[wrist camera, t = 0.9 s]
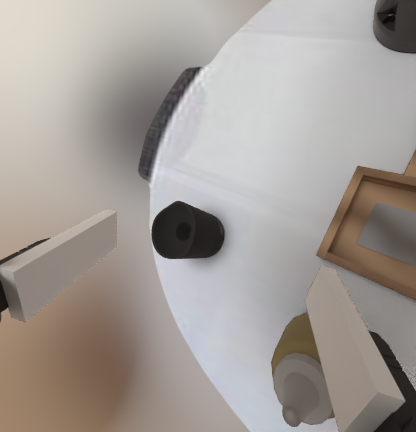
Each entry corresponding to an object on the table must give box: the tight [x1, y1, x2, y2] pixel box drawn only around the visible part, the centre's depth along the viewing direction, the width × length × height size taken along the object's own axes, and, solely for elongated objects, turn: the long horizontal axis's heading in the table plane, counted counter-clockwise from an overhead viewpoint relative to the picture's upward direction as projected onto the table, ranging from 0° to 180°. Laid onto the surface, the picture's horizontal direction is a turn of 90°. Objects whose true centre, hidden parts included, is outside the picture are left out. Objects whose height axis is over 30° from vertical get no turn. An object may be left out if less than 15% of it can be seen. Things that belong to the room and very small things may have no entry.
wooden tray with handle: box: [316, 150, 416, 300], centre depth 26 cm, size 23×13×3 cm, turn 152°
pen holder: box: [152, 201, 224, 259], centre depth 39 cm, size 9×9×10 cm
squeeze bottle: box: [271, 314, 335, 427], centre depth 22 cm, size 8×8×18 cm
